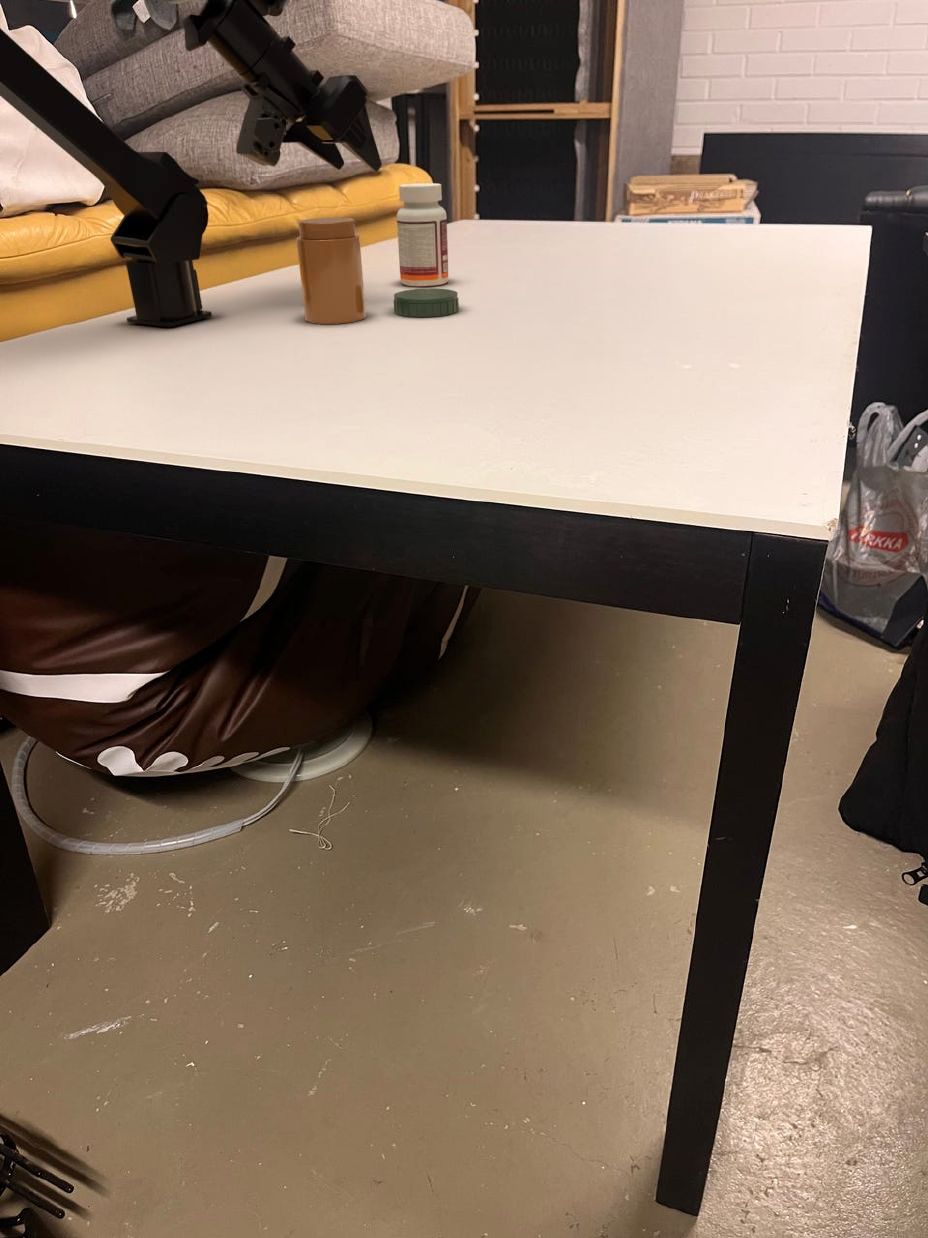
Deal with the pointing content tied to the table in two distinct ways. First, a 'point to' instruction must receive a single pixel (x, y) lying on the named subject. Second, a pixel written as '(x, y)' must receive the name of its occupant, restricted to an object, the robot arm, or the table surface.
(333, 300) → the jar
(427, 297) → the jar lid
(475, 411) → the table surface
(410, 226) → the pill bottle
